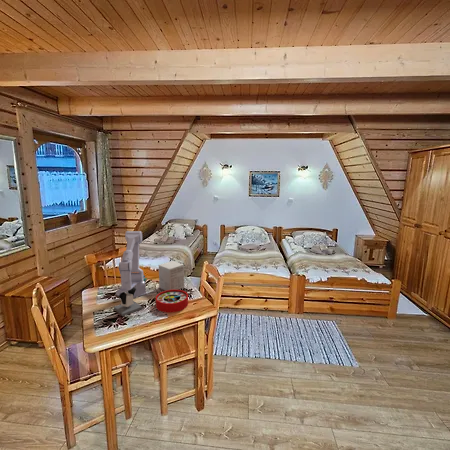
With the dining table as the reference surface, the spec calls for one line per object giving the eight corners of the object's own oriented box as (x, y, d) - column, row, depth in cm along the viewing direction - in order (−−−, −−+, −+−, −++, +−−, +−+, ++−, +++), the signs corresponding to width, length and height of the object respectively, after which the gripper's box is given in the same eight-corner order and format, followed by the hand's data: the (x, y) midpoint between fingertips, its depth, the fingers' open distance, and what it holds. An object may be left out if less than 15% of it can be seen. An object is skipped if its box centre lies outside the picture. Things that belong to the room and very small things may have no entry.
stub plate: (132, 302, 166) (132, 295, 165) (141, 309, 158) (141, 301, 157) (114, 308, 157) (113, 301, 157) (122, 316, 149) (122, 308, 148)
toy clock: (152, 293, 167) (181, 287, 176) (152, 301, 168) (181, 295, 177) (160, 306, 149) (192, 299, 159) (160, 316, 150) (192, 308, 160)
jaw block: (127, 301, 160) (126, 292, 159) (133, 303, 158) (132, 294, 157) (121, 305, 156) (120, 296, 155) (127, 307, 154) (126, 297, 153)
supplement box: (184, 287, 190) (184, 264, 186) (170, 293, 180) (169, 269, 177) (173, 282, 198) (172, 260, 195) (159, 287, 188) (158, 264, 185)
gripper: (130, 275, 162) (131, 295, 165) (111, 283, 149) (113, 305, 152) (139, 277, 159) (140, 297, 162) (120, 286, 147) (121, 308, 149)
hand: (127, 301), depth 157 cm, fingers closed on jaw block, 5 cm apart
